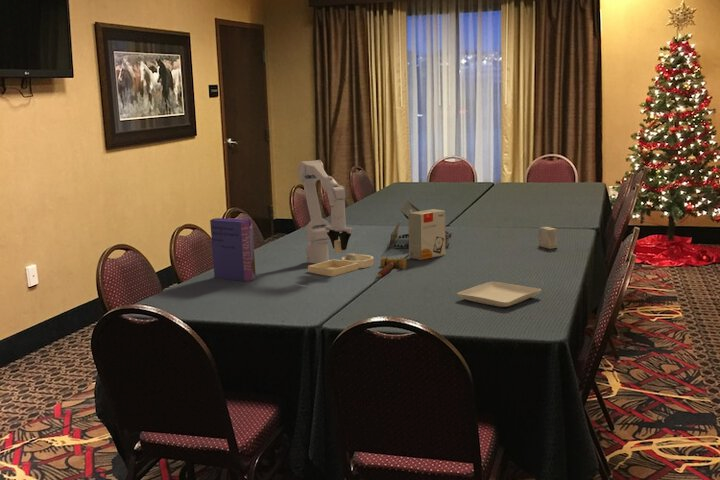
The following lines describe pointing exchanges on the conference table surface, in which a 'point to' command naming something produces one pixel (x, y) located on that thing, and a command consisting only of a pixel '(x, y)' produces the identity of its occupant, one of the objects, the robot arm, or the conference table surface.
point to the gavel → (391, 265)
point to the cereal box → (233, 249)
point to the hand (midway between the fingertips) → (339, 249)
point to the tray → (333, 267)
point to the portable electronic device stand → (395, 234)
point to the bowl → (362, 260)
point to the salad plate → (498, 294)
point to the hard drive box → (426, 234)
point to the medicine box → (548, 237)
